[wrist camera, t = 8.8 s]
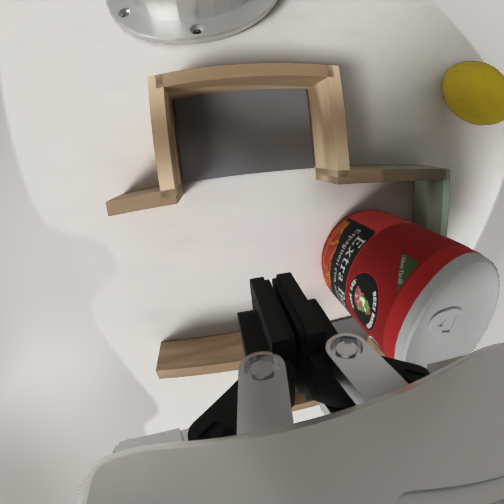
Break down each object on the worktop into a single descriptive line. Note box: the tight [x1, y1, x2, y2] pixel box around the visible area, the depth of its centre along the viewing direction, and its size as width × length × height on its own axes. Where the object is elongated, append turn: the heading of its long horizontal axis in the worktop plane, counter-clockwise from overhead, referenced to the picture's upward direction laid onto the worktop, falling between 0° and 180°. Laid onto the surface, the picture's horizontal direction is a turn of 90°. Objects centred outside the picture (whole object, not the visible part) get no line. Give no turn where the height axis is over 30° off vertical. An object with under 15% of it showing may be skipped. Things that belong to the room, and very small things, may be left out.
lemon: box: [442, 61, 504, 125], centre depth 14 cm, size 6×6×8 cm
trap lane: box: [106, 63, 450, 411], centre depth 19 cm, size 25×23×4 cm
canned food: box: [322, 210, 499, 368], centre depth 16 cm, size 8×8×11 cm
